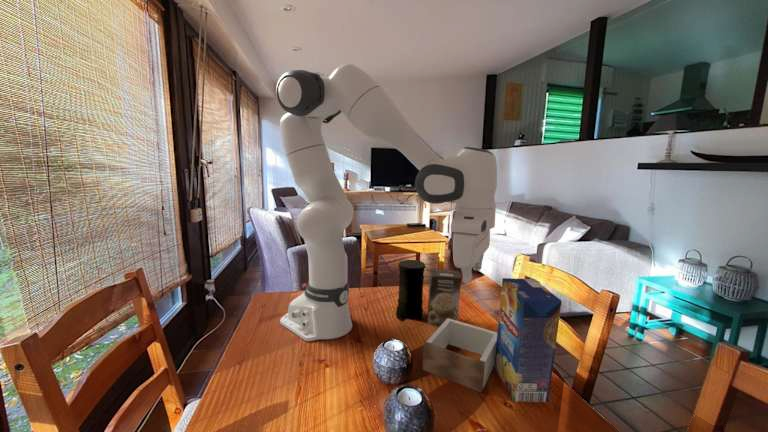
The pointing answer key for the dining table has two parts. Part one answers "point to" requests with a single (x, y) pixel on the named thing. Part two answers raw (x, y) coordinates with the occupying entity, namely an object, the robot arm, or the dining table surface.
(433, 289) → the coffee box
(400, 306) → the container
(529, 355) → the juice carton
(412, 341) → the dining table surface
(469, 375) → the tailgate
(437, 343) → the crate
